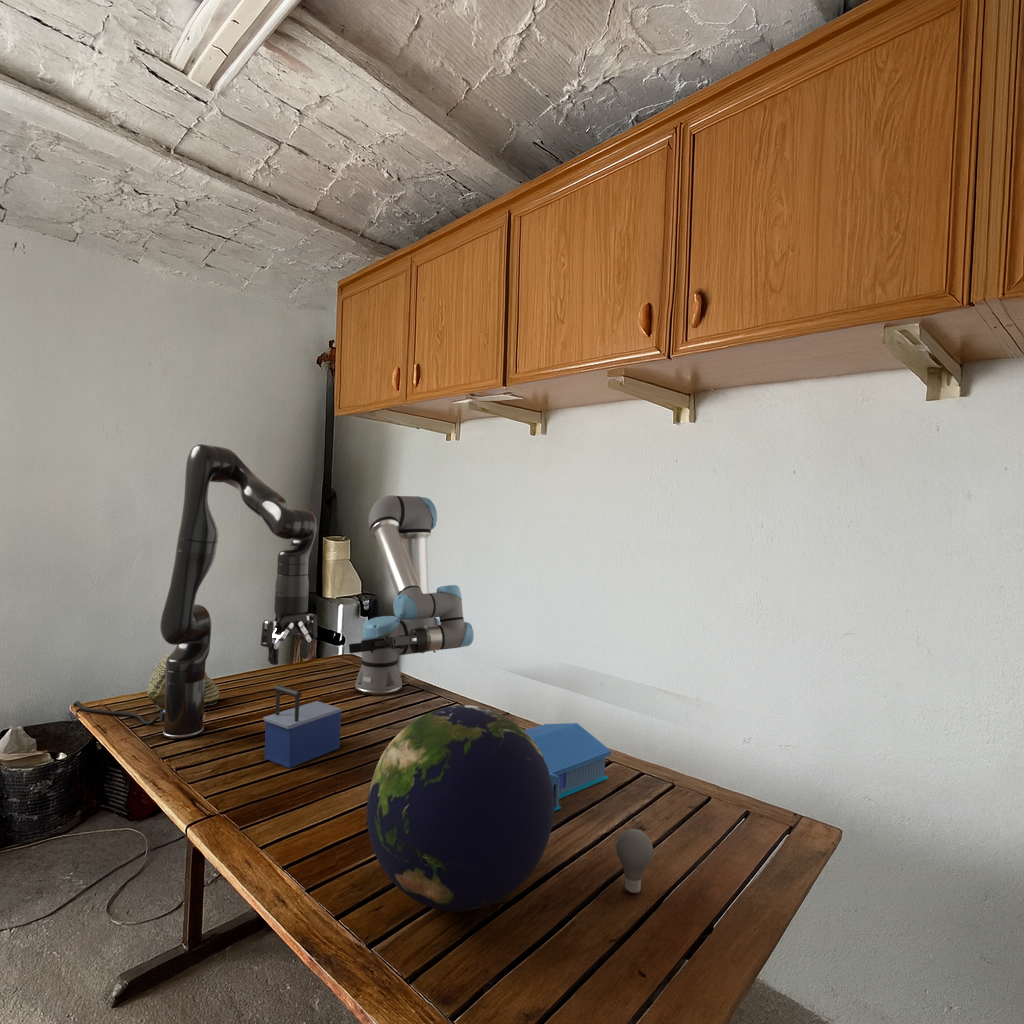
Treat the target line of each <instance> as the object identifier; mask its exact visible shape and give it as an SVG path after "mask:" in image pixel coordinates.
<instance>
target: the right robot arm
mask: <svg viewBox="0 0 1024 1024" xmlns="http://www.w3.org/2000/svg"><path fill="white" fill-rule="evenodd" d="M367 522H368V529H369V532H370V534H371V536H372V537H373V538H374V539H376V542H377V544H378V547H379V550H380V552H381V555H382V558H383V560H384V564H385V566H386V570H387V572H388V574H389V577H390V579H391V583H392V586H393V588H394V590H395V594H396V596H395V598H394V599H393V602H392V607H393V614H394V615H383V616H375V617H373V618H370V619H367V620H366V621H365V622H364V624H363V627H362V634H361V637H362V640H360V642H355V643H349V644H348V650H349V651H348V652H349V654H356V653H361V666H360V669H359V672H358V674H357V677H356V680H355V683H354V690H355V692H357V693H359V694H361V695H366V696H388V695H393V694H396V693H399V692H400V691H402V689H403V681H402V678H403V679H404V678H406V674H400V669H399V666H398V659H399V658H398V657H399V656H405V655H414V654H424V653H428V652H433V653H435V654H436V652H437V651H441V650H451V649H452V650H453V649H460V648H465V647H469V646H471V645H472V644H473V641H474V638H475V633H474V629H473V625H472V624H471V623H470V622H467V621H465V619H464V612H463V597H462V592H461V588H460V586H459V585H457V584H449V585H442V586H439V587H437V588H436V592H430V589H429V565H428V564H429V562H428V538H429V537H430V536H431V535H432V530H434V529H435V528H436V526H437V522H438V511H437V508H436V506H435V504H434V502H433V500H431V499H430V498H428V497H425V496H418V495H417V496H416V495H415V496H414V495H412V496H411V495H385V496H382V497H381V498H380V499H378V500H376V502H375V503H374V504H373V505H372V507H371V509H370V510H369V514H368V521H367Z"/></svg>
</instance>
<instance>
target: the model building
mask: <svg viewBox="0 0 1024 1024" xmlns="http://www.w3.org/2000/svg"><path fill="white" fill-rule="evenodd" d="M523 730H524V731H525V732H526V733H527V734H528V735H529V736H530V737H531V739H532V740H533V741H534V742H535V744H536V745H537V747H538V748H539V750H540V752H541V753H542V755H543V757H544V760H545V763H546V765H547V767H548V770H549V774H550V777H551V782H552V786H553V794H554V812H556V811H559V810H561V809H562V806H561V805H560V799H563V798H565V797H567V796H570V795H572V794H575V793H578V792H580V791H583V790H584V789H587V788H589V787H591V786H594V785H596V784H599V783H601V782H603V781H606V780H609V776H608V775H606V758H607V757H610V756H612V750H611V749H609V748H608V747H607V746H606V745H605V744H603V742H601V741H600V740H598V739H597V738H596V737H595V736H594V735H592V734H591V733H590V732H589V731H588V730H586V729H585V728H584V727H583V726H581V725H580V724H579V723H578V722H572V723H571V722H568V723H564V722H563V723H544V724H540V725H537V726H533V727H531V728H527V729H523Z"/></svg>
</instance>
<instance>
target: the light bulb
mask: <svg viewBox="0 0 1024 1024" xmlns="http://www.w3.org/2000/svg"><path fill="white" fill-rule="evenodd" d="M615 849H616V854H617V857H618V859H619V861H620V863H621V865H622V867H623V873H624V874H623V875H624V876H625V878H624V888H625V890H627V891H628V892H630V893H634V894H635V893H639V892H640V891H641V889H642V887H641V886H642V879H643V877H644V875H645V871H646V868H647V867H648V866H649V864H650V863H651V861H652V859H653V855H654V847H653V843H652V841H651V838H649V836H648V835H647V834H646V833H645V832H643V831H642V830H641V829H636V828H629V829H627V830H625V831H623V832H622V833H621V834H620V835H619V837H618V839H617V841H616V847H615Z"/></svg>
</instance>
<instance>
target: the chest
mask: <svg viewBox="0 0 1024 1024" xmlns="http://www.w3.org/2000/svg"><path fill="white" fill-rule="evenodd" d="M341 721H342V711H341V712H338V713H335V714H332V715H329V716H326V717H323V718H320V719H317V720H314V721H311V722H308V723H305V724H302V725H299V726H296V727H294V728H291V729H286V728H283V727H280V726H278V725H275V724H272V723H269V722H266V721H265V733H264V759H265V760H268V761H270V762H272V763H275V764H277V765H280V766H282V767H285V768H288V769H291V768H294V767H296V766H299V765H301V764H304V763H306V762H309V761H311V760H314V759H316V758H319V757H322V756H324V755H326V754H329V753H331V752H334V751H336V750H339V749H340V748H341V746H340V745H341V726H342V725H341Z"/></svg>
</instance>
